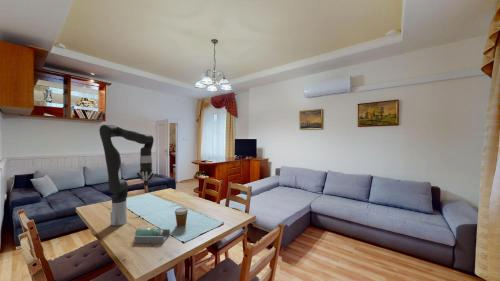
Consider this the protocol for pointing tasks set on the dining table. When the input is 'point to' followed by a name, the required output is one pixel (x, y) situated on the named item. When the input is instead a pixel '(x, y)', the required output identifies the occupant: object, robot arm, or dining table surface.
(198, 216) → the dining table surface
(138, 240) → the u rest
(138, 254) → the dining table surface
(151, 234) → the bottle
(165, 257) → the dining table surface
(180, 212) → the disposable coffee cup
